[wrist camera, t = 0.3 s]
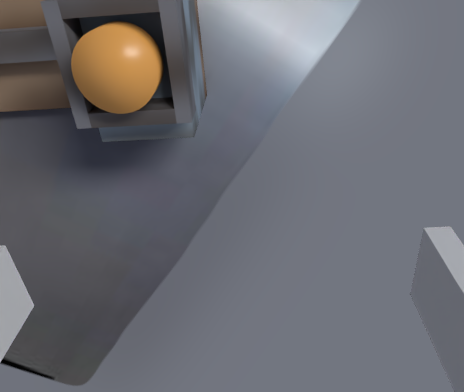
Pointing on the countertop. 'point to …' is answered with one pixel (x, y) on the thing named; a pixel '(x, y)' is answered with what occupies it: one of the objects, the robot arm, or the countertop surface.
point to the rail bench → (60, 72)
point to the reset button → (117, 67)
